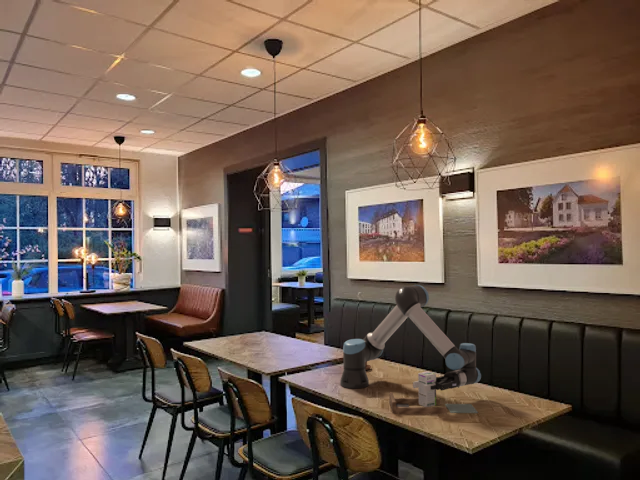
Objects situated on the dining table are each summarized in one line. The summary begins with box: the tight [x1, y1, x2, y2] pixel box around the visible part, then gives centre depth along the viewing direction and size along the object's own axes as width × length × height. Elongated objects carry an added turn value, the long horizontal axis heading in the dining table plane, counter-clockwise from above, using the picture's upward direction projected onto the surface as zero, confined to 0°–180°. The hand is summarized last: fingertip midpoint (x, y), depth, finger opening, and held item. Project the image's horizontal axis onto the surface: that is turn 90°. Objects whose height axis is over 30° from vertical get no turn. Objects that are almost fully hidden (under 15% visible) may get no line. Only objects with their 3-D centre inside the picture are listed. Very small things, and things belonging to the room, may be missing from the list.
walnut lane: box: [388, 391, 448, 415], centre depth 224 cm, size 24×15×5 cm, turn 87°
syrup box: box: [417, 371, 437, 407], centre depth 224 cm, size 6×6×14 cm
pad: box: [444, 403, 479, 414], centre depth 223 cm, size 12×12×1 cm
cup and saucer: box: [365, 361, 372, 371], centre depth 299 cm, size 12×12×6 cm
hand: (419, 386), depth 221 cm, fingers closed on syrup box, 6 cm apart
